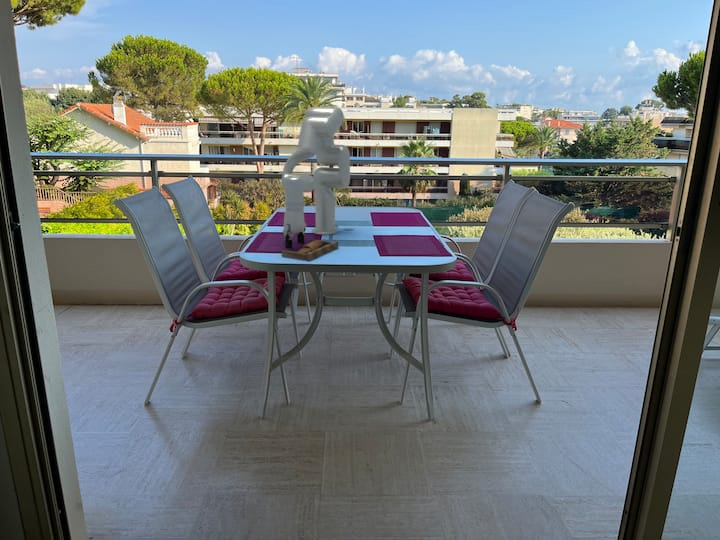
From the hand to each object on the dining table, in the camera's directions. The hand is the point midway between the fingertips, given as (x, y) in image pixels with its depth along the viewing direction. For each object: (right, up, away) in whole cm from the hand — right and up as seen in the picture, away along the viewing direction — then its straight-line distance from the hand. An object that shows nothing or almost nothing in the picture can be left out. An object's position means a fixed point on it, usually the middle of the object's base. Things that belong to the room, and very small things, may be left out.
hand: (295, 246), depth 227 cm
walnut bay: (+7, -3, -3) cm, 8 cm away
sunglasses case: (+6, -3, -1) cm, 7 cm away
